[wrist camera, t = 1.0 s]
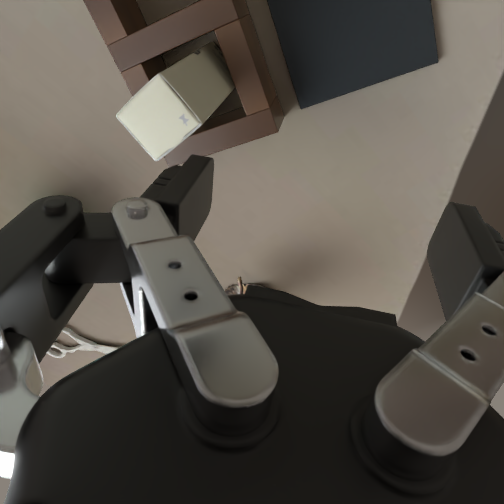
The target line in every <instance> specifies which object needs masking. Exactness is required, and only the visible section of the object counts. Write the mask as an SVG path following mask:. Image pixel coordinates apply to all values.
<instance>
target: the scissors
mask: <svg viewBox="0 0 504 504" xmlns="http://www.w3.org/2000/svg"><path fill="white" fill-rule="evenodd" d="M62 332H65V333H66V334H68V335H69V336H70V337H72V338H73V339H74V340H75V341H76V342H78V343H79V344H80V345H77V346H75V347H65V346H62V345H60V344H59V343H57V342H54V343H53V344H52V346H51V347H53V348H57V349H59V350H60V351H61V352H62V353H57V352H54V351H53V350H51V348H50V349H49V350H48V352H47V353H46V354H49V355H51V356H53V357H56V358H62V357H64V356H65V354H66V353H67V352H74V351H75V350H86V351H92V350H96V351H99V352H102V353H104V354H108V353H110V352H111V351H114V350H116V349H118V348H117V347H111V346H105V345H98V344H96V343H94V342H93V341H90V340H88V339H85V338H83V337H81V336H78V335H76V334H75V333H74V332H73V331H72V330H71V329H68V328H65V327H64V328H63V330H62Z"/></svg>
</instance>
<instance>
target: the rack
mask: <svg viewBox="0 0 504 504" xmlns="http://www.w3.org/2000/svg"><path fill="white" fill-rule="evenodd" d="M83 1H84V3H85V5H86V6H87V8H88V10H89V12H90V14H91V16H92V18H93V20H94V22H95V24H96V26H97V28H98V30H99V32H100V34H101V36H102V38H103V40H104V42H105V44H106V45H108V46H107V47H108V49H109V51H110V53H111V55H112V57H113V59H114V61H115V63H116V65H117V67H118V69H119V70H120V72H121V74H122V76H123V78H124V80H125V82H126V84H127V86H128V88H129V90H130V92H131V94H132V96H134V95H135V94H136V93H137V92H138V91H139V90H140V89H141V88H142V87H143V86H145V85H146V84H147V83H148V82H149V81H150V80H151V79H152V78H153V77H155V76H156V75H157V74H158V73H160V72H162V71H164V70H166V66H165V64H164V62H163V60H162V58H161V55H160V54H162V53H164V52H167V51H169V50H171V49H173V48H176V47H178V46H180V45H182V44H184V43H187V42H189V41H191V40H193V39H195V38H198V37H200V36H202V35H204V34H207V33H209V32H211V31H213V30H214V32H215V34H216V37H217V40H218V42H219V45H220V47H221V50H222V53H223V55H224V58H225V61H226V63H227V66H228V68H229V71H230V74H231V76H232V79H233V82H234V84H235V87H236V89H237V92H238V95H239V97H240V100H241V103H242V105H243V107H242V108H239V109H236V110H234V111H231V112H228V113H225V114H223V115H220V116H217V117H214V118H212V119H209V120H206V121H205V122H204V123H203V125H202V126H200V127H199V128H198V129H197V130H196V131H195V132H193V133H192V134H191V135H190V136H189V137H188V138H186V139H185V140H184V141H183V142H182V143H180V144H179V145H178V146H177V147H176V148H174V149H173V150H172V151H171V152H169V153H168V154H167V155H165V156H164V158H165V160H166V162H167V164H168V166H169V168H170V167H172V166H174V165H180V164H183V163H185V162H186V161H187V159H188V158H189V157H190V156H191V155H192V154H194V155H199V156H207V155H210V154H213V153H216V152H219V151H222V150H225V149H228V148H231V147H234V146H237V145H240V144H243V143H247V142H250V141H253V140H256V139H259V138H262V137H265V136H268V135H271V134H274V133H277V132H278V131H279V129H280V126H281V124H282V121H283V119H284V115H283V112H282V109H281V106H280V103H279V100H278V97H277V95H276V91H275V88H274V85H273V82H272V79H271V76H270V73H269V70H268V67H267V64H266V61H265V58H264V55H263V52H262V49H261V46H260V43H259V40H258V37H257V34H256V31H255V28H254V25H253V22H252V19H251V16H250V14H249V10H248V7H247V4H246V1H245V0H200V1H198V2H195V3H193V4H191V5H189V6H187V7H185V8H183V9H181V10H179V11H177V12H175V13H173V14H171V15H169V16H167V17H165V18H163V19H161V20H159V21H157V22H155V23H152V24H150V25H148V26H147V24H146V22H145V20H144V18H143V16H142V13H141V11H140V9H139V7H138V5H137V3H136V0H83Z"/></svg>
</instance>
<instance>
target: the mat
mask: <svg viewBox="0 0 504 504" xmlns="http://www.w3.org/2000/svg"><path fill="white" fill-rule="evenodd" d="M267 2H268V5H269V8H270V11H271V15H272V18H273V21H274V24H275V27H276V31H277V34H278V37H279V40H280V44H281V47H282V50H283V53H284V57H285V60H286V63H287V66H288V69H289V73H290V76H291V79H292V82H293V86H294V89H295V92H296V95H297V98H298V102H299V105H300V108H301V109H303V108H306V107H309V106H312V105H315V104H318V103H321V102H324V101H327V100H329V99H332V98H335V97H338V96H341V95H344V94H347V93H350V92H353V91H356V90H359V89H362V88H365V87H367V86H370V85H373V84H376V83H379V82H382V81H385V80H388V79H391V78H394V77H397V76H400V75H402V74H405V73H408V72H411V71H414V70H417V69H420V68H423V67H426V66H429V65H432V64H435V63H438V54H437V46H436V38H435V31H434V23H433V15H432V8H431V0H267Z"/></svg>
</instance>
